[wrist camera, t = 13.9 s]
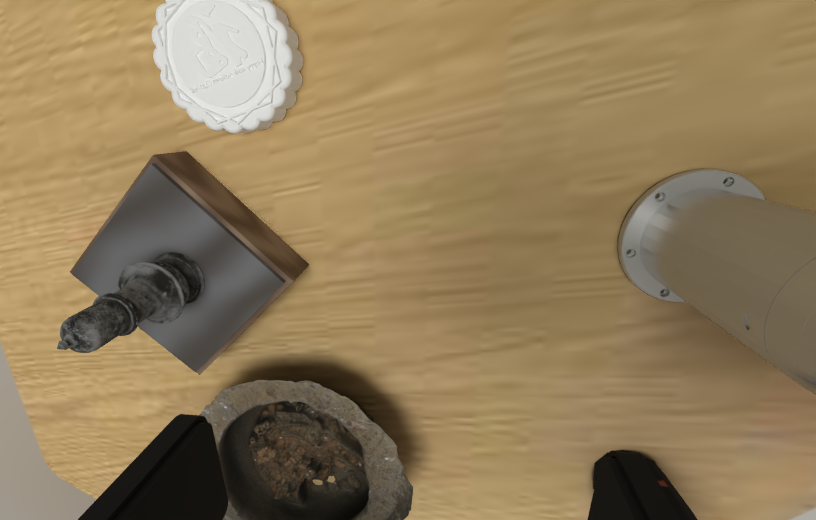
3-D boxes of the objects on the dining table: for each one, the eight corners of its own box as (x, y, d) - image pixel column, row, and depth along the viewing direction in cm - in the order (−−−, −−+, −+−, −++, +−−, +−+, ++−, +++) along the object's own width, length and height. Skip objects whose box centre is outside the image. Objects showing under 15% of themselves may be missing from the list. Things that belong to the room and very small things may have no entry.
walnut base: (308, 264, 40) (291, 283, 35) (222, 351, 45) (196, 378, 40) (186, 151, 37) (149, 155, 32) (107, 256, 42) (65, 273, 37)
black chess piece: (146, 296, 37) (17, 371, 26) (149, 241, 35) (10, 296, 24) (205, 313, 37) (101, 396, 26) (210, 259, 35) (101, 323, 24)
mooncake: (269, -42, 31) (248, -62, 28) (325, 107, 35) (312, 105, 31) (149, 15, 33) (117, 3, 30) (213, 150, 37) (191, 152, 34)
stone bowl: (371, 530, 52) (351, 609, 44) (209, 451, 53) (157, 515, 44) (450, 404, 44) (444, 471, 35) (255, 310, 44) (202, 353, 35)
